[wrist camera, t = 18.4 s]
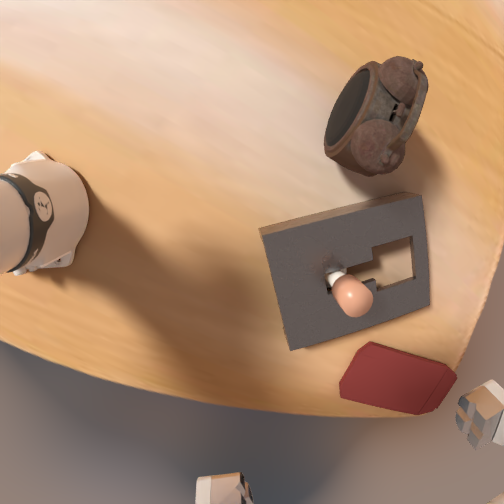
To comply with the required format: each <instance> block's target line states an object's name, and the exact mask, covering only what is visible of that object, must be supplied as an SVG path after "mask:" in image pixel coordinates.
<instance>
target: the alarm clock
mask: <svg viewBox="0 0 504 504" xmlns="http://www.w3.org/2000/svg"><path fill="white" fill-rule="evenodd" d="M412 60H413V61H412ZM412 60H410V59H408V58H405V57H400V56H396V57H393V58H390V59H388V60H386V61H385V62H384V63H382V64H379V63H377V62H375V61H371V62H368V63H367V64H365V65H363V66H362V67H360V68H359V69H358V70H357V71H356V72H355V73H354V74H353V76H352V77H351V78H350V80H349V81H348V83H347V84H346V86H345V87H344V89H343V91H342V92H341V94H340V95H339V97H338V99H337V101H336V103H335V105H334V107H333V110H332V112H331V115H330V118H329V121H328V124H327V128H326V132H325V137H324V146H325V154H326V156H327V157H329V158H330V159H332V160H334V161H335V162H337V163H339V164H340V165H342V166H343V167H345V168H347V169H349V170H352V171H354V172H357V173H360V174H362V175H365V176H368V177H370V176H374V175H377V174H386V173H390V172H392V171H393V170H395V169H397V168H398V166H399V165H400V164H401V163H402V161H403V158H404V155H405V143H406V141H407V140H408V139H409V137H410V136H411V134H412V132H413V130H414V128H415V126H416V124H417V122H418V119H419V116H420V114H421V111H422V107H423V104H424V101H425V97H426V93H427V91H428V79H427V77H426V75H425V73H424V71H423V70H422V68H423V63H422V62H420V61H418V62H417V61H415V60H414V59H412Z"/></svg>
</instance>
